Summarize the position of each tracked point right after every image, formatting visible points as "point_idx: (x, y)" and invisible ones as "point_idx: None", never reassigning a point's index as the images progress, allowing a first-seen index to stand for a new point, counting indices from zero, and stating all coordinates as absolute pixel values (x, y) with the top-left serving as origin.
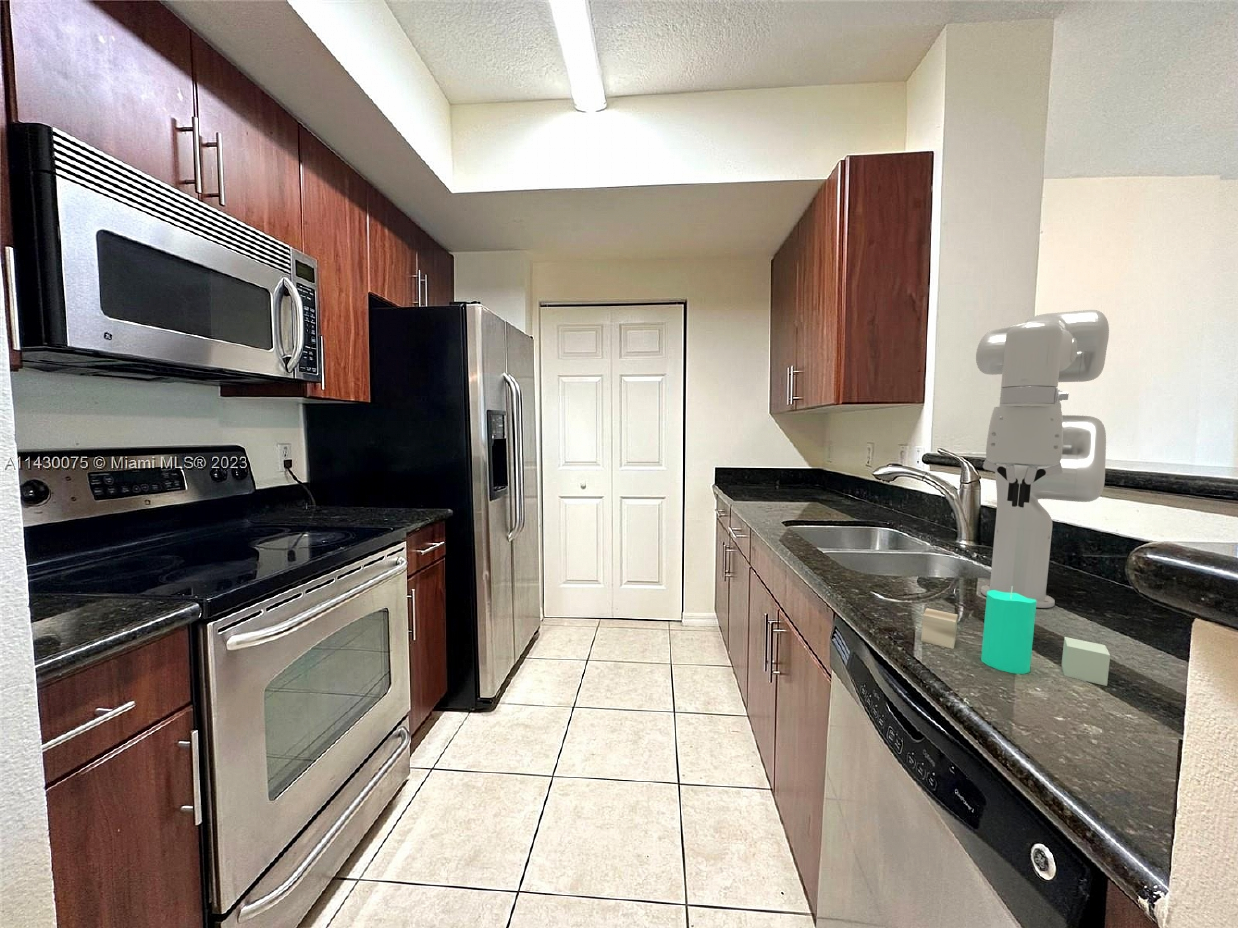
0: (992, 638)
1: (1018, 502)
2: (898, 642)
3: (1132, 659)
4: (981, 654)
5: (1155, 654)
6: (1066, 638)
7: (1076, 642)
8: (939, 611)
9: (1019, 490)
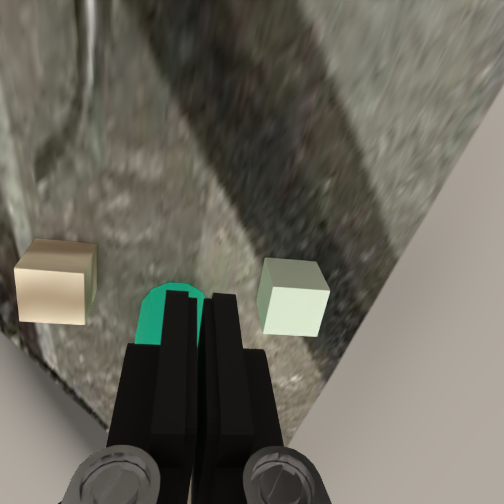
0: None
1: (198, 352)
2: (6, 318)
3: (410, 141)
4: (141, 305)
5: (481, 69)
6: (273, 294)
7: (284, 305)
8: (44, 275)
9: (202, 406)
